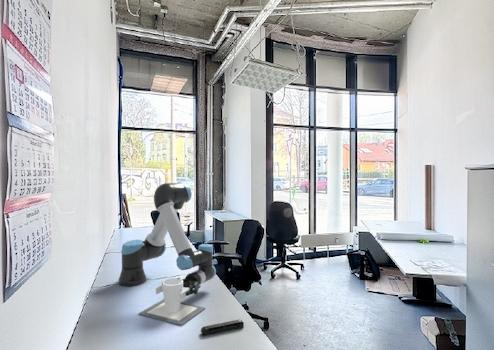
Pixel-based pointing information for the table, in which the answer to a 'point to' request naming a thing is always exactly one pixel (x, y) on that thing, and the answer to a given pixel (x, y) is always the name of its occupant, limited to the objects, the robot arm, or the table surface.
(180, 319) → the picture frame
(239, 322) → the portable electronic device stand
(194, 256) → the robot arm
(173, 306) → the foam cup
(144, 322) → the table surface
